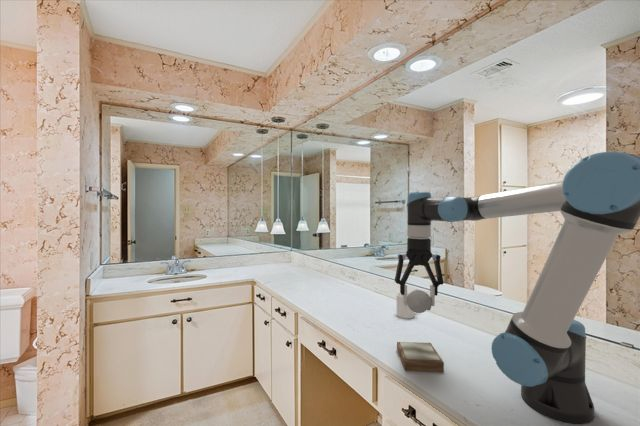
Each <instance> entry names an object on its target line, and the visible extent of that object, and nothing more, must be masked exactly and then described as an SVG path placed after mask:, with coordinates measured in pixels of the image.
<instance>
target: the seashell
mask: <svg viewBox="0 0 640 426" xmlns="http://www.w3.org/2000/svg"><path fill="white" fill-rule="evenodd" d="M408 293H409V295H408V296H407V304H408V307H409V308H410V309H411V310H412V311H413V312H414V314H415V313H416V314H422V313H425V312H426V311H431V309H432V307H433V306H432V301H431V298H430V294H428V292H425V291H424V290H422V289H413V290H412V291H410V292H408Z"/></svg>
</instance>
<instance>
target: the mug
mask: <svg viewBox="0 0 640 426" xmlns="http://www.w3.org/2000/svg"><path fill="white" fill-rule="evenodd" d="M409 293H410V292H407V296H408V295H409ZM396 316H397V317H398V318H400V319H405V320H410V319H413V318H415V312H413V311H412V310H411V309H410V308H409V307H408V304H407V306H405V305H404V304H403V295H401V293H400V292H398V293H396Z"/></svg>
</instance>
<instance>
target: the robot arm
mask: <svg viewBox="0 0 640 426" xmlns="http://www.w3.org/2000/svg"><path fill="white" fill-rule="evenodd" d="M563 177H564V178H563V180H560V181H555V182H550V183H543V184H538V185H533V186H527V187H521V188H516V189H510V190H504V191H500V192H493V193H488V194H487V193H486V194H482V195H475V196H470V197H468V196H467V197H462V196H455V195H453V196H450V195H448V196H438V197H436V196H435V197H432V194H431V192H430V191H412V192H409V193H408V194H407V204H406V206H407V209H406V210H407V234H406V235H407V239H406V240H407V243H406V244H407V248H406V252H405V253H398V254H397V259H398V261H397V267H396V270H395V271H396V272H395V276H394V283H396V284H397V285H399V293H401V295H403V304H404V305H405V306H407V293H408V286H407V284H406V283H407V282H408V279H409V277H410V274H411V272H412V270H413V269H414V267H415V266H421V267H422V266H423V267H424V269H425V271H426V272H427V275H428V277H429V280H430V282H431V283H432V284H429V296H430V298H431V301H432V306H431V307H435V304H436V303H435V301H436V300H435V297H437V296H438V294H439V293H438V290H439V289H438V288H439V286H440V285H444V283H445V282H444V278H443V272H442V268H441V255H440V254H438V253H436V254H435V253H432V250H431V249H432V247H431V246H432V239H431V238H430V237H431V236H432V229H431V227H432V221H433V222H434V221H435V222H436V221H437V222H447V223H455V222H463V221H474V222H475V221H482V220H486V219H496V218H505V217H513V216H514V217H515V216H516V217H517V216H526V215H534V214H542V213H554V212H560V213H561V215H562V218H563V219H564V221H563V223H562V226H561V228H560V230H559V232H558V234H557V237H556V239H555V241H554V243H553V245H552V247H551V250H550V252H549V254H548V256H547V259H546V261H545V263H544V266H543V267H542V270H541V272H540V274H539V276H538V278H537V280H536V283H535V285H534V287H533V289H532V291H531V293H530V296H529V298H528V300H527V302H526V304H525V307H524V309H523V311H518V312H515V313H513V315H512V317H511V319H510V320H509V323H508V325H507V327H506V330H505V331H504V332H501V333H499V334H498V335H497V336H495V337H494V338H493V340H492V343H491V354H492V357H493V359H494V360H495V364H496V366H497V368H499V370H500V371H501V373H503V374H504V375H505V376H506V377H507V378H508V379H509V380H510V381H513V382H514V383H516V384H518V385H519V386H520V395H521V398H522V399H523V401H524V402H525V403H526V404H527V406H530V407H531V409H534V410H535V411H537V412H538V413H540V414H542V415H544V416H546V417H549V418H552V419H555V420H558V421H561V422H564V423H568V424H569V423H571V424H575V425H576V424H580V425H581V424H582V425H583V424H588V423H589V424H590V423H591V422H592V421H594V419H595V405H594V402H593V399H592V397H591V395H590V392H589V389H588V387H587V386H588V385H587V383H586V355H587V354H586V347H587V346H586V345H587V344H586V343H587V342H586V340H587V338H588V337H587V334H586V327H585V325H584V324H583V323H582V322H581V321H579V320H576V319H575V318H576V316H577V314H578V312H579V311H580V309H581V308H580V307H581V306H582V305H583V302H584V301H585V299H586V298H587V295H588V292H589V291H590V289H591V287H592V286H593V283H594V281H595V279H596V278H597V277H598V274H599V272H600V271H601V268H602V266H603V265H604V263H605V260H606V259H607V256H608V255H609V252H610V251H611V249H612V247H613V245H614V243H615V242H616V240H617V238H618V236H621V235H622V234H626V233H629V232H632V231H633V230H634V228H635V227H636V225H637V223H638V221H639V220H640V156H639V155H636V154H633V153H629V152H626V151H623V152H622V151H602V152H597V153H593V154H590V155H588V156H585V157H583V158H581V159H580V160H578V161H576V162H575V163H574V164H573V165H571V167H570V168H569V169H568V170H567V172H566V173H565V175H564V176H563ZM406 258H407V259H408V264H407V266H406V269H405V270H404V272H403V266H404V261H405V260H406ZM431 259H432V260H433V263H434V269H435V274H436V277H435V275H434V272H433V270H432V268H431V265H430V263H429V261H430V260H431ZM402 272H403V275H402Z"/></svg>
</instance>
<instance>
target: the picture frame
mask: <svg viewBox="0 0 640 426" xmlns="http://www.w3.org/2000/svg"><path fill="white" fill-rule="evenodd" d="M396 352H397V353H398V356H399V359H400V361H401V364H402V367H403V369H404V371H408V372H431V373H432V372H433V373H436V372H437V373H444V372H445V370H444V369H445V367H444V366H445V364H444V363H445V362H444V360H443V359H442V358H441V355H439V353H438V352H437V350H436V349H435V347H434V345H433V344H432V343H431V342H413V341H412V342H411V341H410V342H409V341H407V342H406V341H396Z"/></svg>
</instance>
